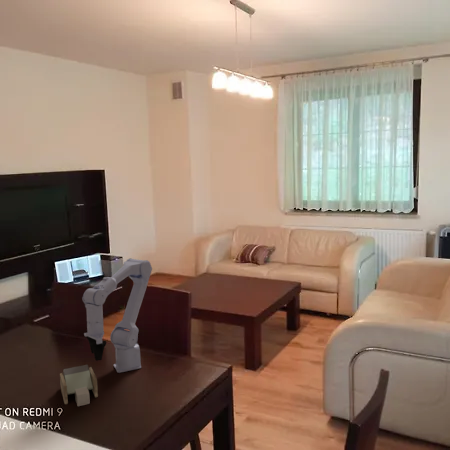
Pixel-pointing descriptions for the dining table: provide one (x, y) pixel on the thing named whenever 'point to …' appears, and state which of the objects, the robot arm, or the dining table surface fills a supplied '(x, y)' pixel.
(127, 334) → the robot arm
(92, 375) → the tan piece
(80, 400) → the plain off-white cube
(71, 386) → the pale grey slab
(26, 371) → the dining table surface
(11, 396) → the dining table surface
